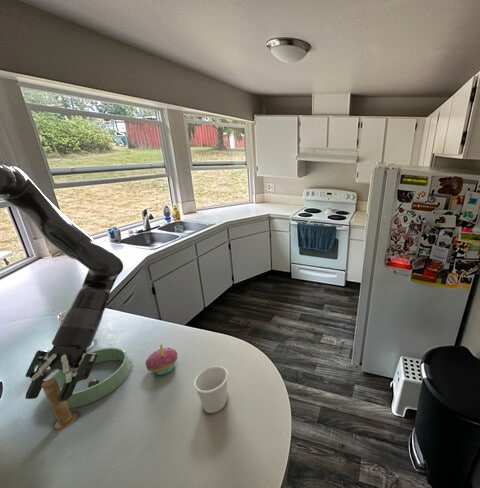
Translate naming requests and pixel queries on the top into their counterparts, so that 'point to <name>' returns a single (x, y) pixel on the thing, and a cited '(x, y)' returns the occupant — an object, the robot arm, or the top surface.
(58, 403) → the wooden cylinder
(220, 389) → the dixie cup
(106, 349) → the oval ring
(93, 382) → the walnut bead
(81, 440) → the top surface
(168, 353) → the cupcake
